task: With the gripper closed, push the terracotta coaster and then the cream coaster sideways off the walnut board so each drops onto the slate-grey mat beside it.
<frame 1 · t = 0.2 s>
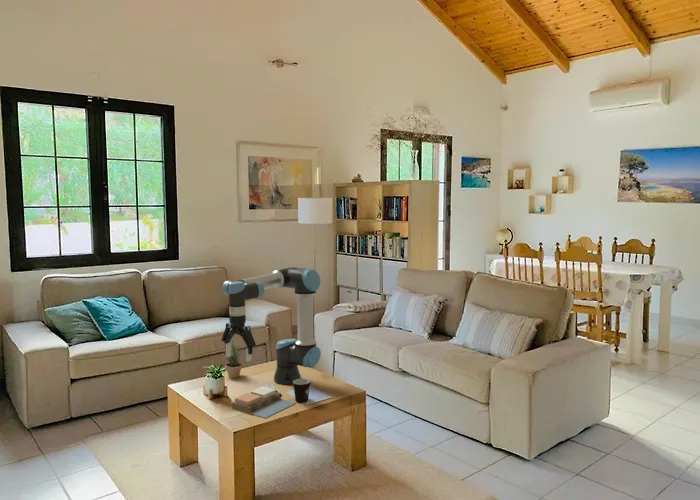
hand: (238, 358, 258), 27 cm above the table, tool pointing down, fingers open, 13 cm apart
terracotta coaster: (248, 401, 269), point 3 cm above the table, touching walnut board
walnut board: (256, 403, 273), on the table
coffee mug: (304, 400, 278), on the table
slate mat: (273, 408, 267), on the table
cream coaster: (263, 394, 278), point 3 cm above the table, touching walnut board
potted plant: (234, 376, 315), on the table
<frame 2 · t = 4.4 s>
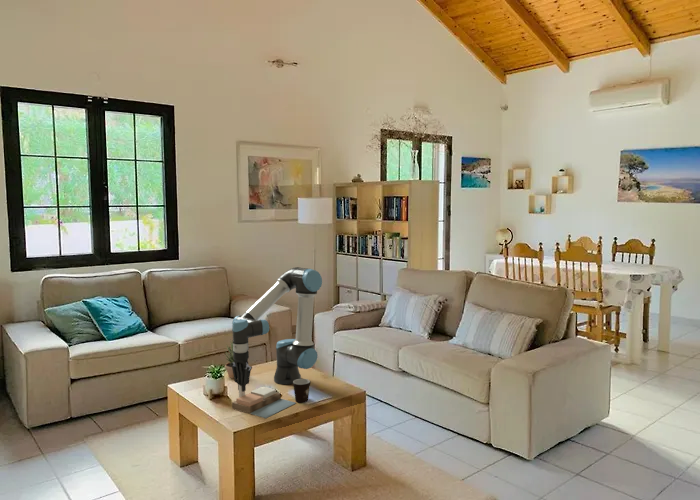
hand: (242, 397, 271), 4 cm above the table, tool pointing down, fingers closed
terracotta coaster: (249, 401, 268), point 3 cm above the table, touching gripper, walnut board
everything else where it was.
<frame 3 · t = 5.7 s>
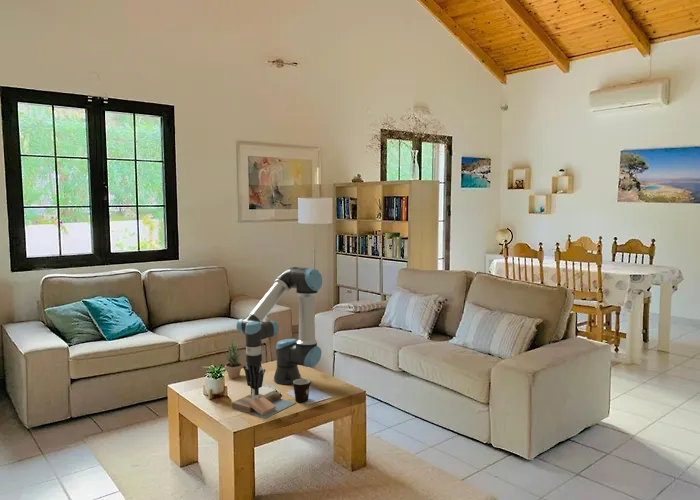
hand: (255, 400, 266), 4 cm above the table, tool pointing down, fingers closed
terracotta coaster: (262, 407, 263), point 2 cm above the table, tilted 19°, touching slate mat
everything else where it was.
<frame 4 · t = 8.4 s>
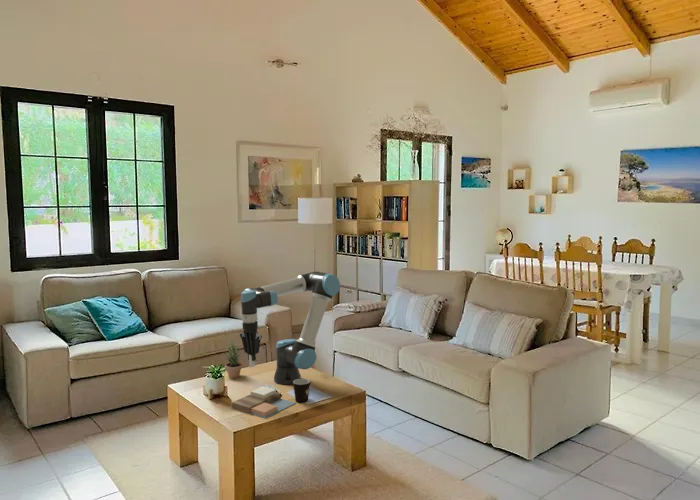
hand: (252, 366, 276), 18 cm above the table, tool pointing down, fingers closed
terracotta coaster: (264, 411, 263), resting on slate mat
everything else where it was.
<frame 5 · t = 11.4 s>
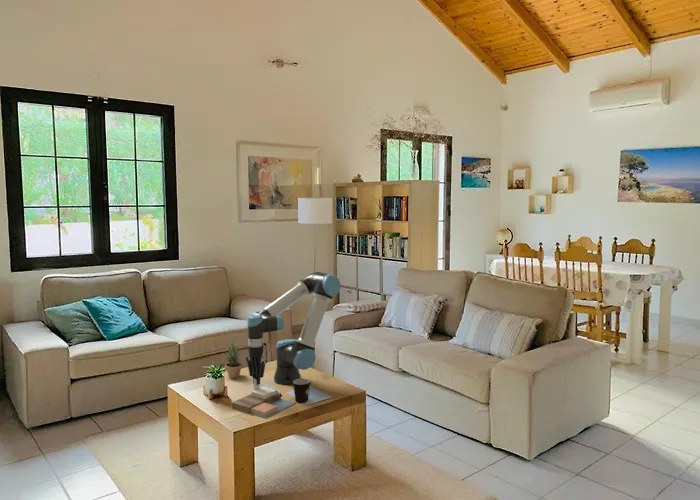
hand: (256, 390, 280), 4 cm above the table, tool pointing down, fingers closed
cream coaster: (264, 394, 277), point 3 cm above the table, touching gripper
everything else where it was.
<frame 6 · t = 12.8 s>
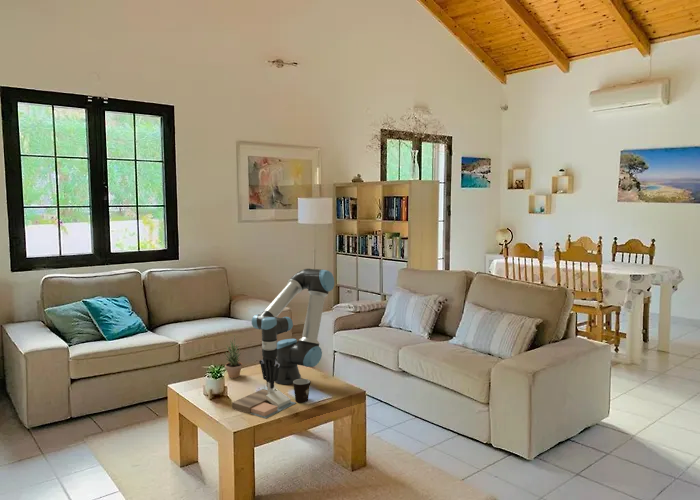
hand: (270, 393, 275), 4 cm above the table, tool pointing down, fingers closed
cream coaster: (277, 400, 272), point 2 cm above the table, tilted 19°, touching gripper, slate mat
everything else where it was.
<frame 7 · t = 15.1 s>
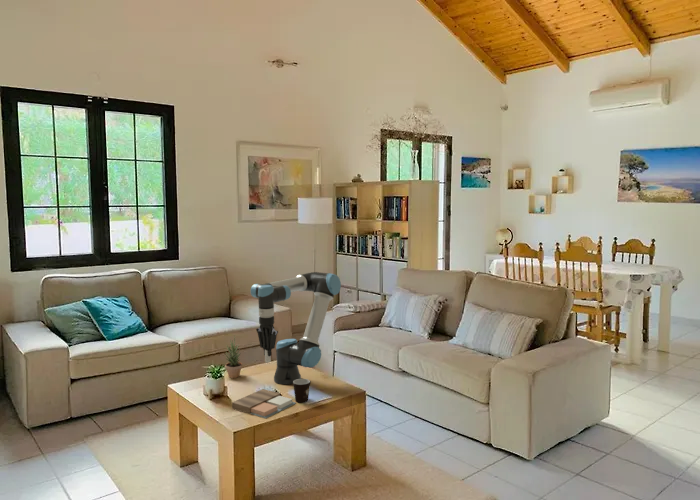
hand: (267, 361, 274), 21 cm above the table, tool pointing down, fingers closed
cream coaster: (279, 403, 272), resting on slate mat
everything else where it was.
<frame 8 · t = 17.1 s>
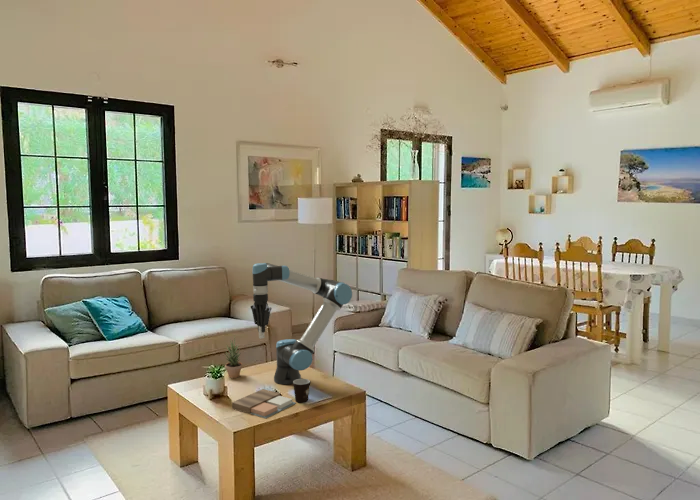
hand: (261, 338, 283), 30 cm above the table, tool pointing down, fingers closed
nothing on the table moved.
at the end: terracotta coaster inside the target area (6.0 cm from its centre), resting on slate mat; cream coaster inside the target area (5.6 cm from its centre), resting on slate mat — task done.
